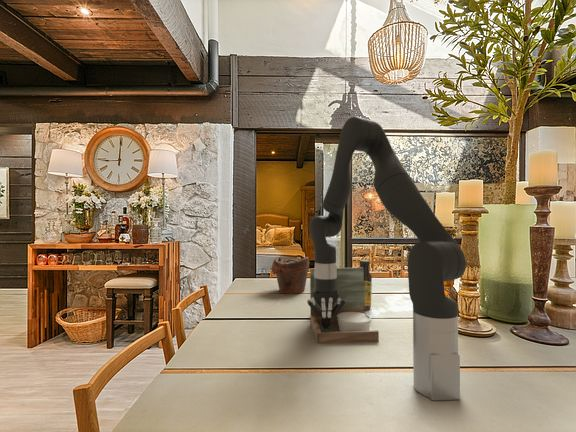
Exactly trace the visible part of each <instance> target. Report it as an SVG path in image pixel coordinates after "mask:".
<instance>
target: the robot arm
mask: <svg viewBox="0 0 576 432" xmlns="http://www.w3.org/2000/svg"><path fill="white" fill-rule="evenodd" d="M392 147H393V146H392V145H391V142H390V141H389V139H388V137H387V134H386V132H385V130H384V129H383V127H382V125H381V124H380V123H379V122H377V121H376V120H373V119H368V118H364V117H359V116H352V117H349V118H347V120H346V121H345V122H344V124H343V126H342V128H341V132H340V134H339V139H338V145H337V150H336V154H335V159H334V163H333V170H332V174H331V178H330V182H329V185H328V187H327V190H326V193H325V195H324V198H323V201H322V208H323V209H324V211H325V212H327V213H328V215H316V216H314V217H312V218H311V220H310V222H309V227H308V228H309V233H310V238H311V241H312V245H313V249H314V268H313V269H314V294H313V297H312V298H311V299H310V298H309V299H307V300H306V302H307V304H308V306H309V307H310V308H311V309H312V310H313V311H314V312H315V313H316V315H317V316H320V317H321V324H322V325H321V327H322V328H323V329H324V330H329V328H331V326H332V325H331V317H332V316H336V315H337V313H338V312H339V311H340V309H341V308H342V307H343V305H344V304H345V301H344V300H343V299H341V298H340V297H339V294H338V292H337V268H338V267H337V249H336V246H335V245H334V244H330V243H328V240H327V238H331V237H332V238H333V237H336V236H337V235H338V234H340V232H341V230H342V227H343V220H344V209H345V207H346V205H347V203H348V199H349V198H350V195H351V190H352V180H351V173H350V171H351V170H350V165H351V160H352V158H353V156H354V153H355V151H357V152H362V153H365V154H367V156H368V157H369V159H370V161H371V162H372V163H373V166H374V176H373V177H374V178H373V186H374V190H375V192H376V194H377V196H378V198H379V200H380V202H381V203H382V204H383V207H384V208H385V209H386V211H388V213H390V215H392V216H393V217H394V218H395V219H396V220H397V221H399V222H400V223H401V224H403V225H404V226H405V227H407V228H408V230H410V231H411V232H412V233H413V234H414V236H416V239H418V240H419V241H418V242H416V243H415V244H413V245H412V246H411V248H410V250H409V252H408V256H407V276H408V292H409V298H410V301H411V303H412V332H413V333H412V345H413V346H412V348H413V349H412V350H413V352H412V355H413V357H412V359H413V360H412V362H413V363H412V364H413V366H412V367H413V368H412V369H413V371H412V373H413V388H414V389H415V390H416V391H417V392H418V393H419V394H421V395H422V396H425V397H428V398H429V399H430V400H431V401H449V400H450V401H453V400H461V364H460V363H461V358H460V357H461V356H460V354H459V306H458V305H459V304H458V302H457V301H456V300H455V299H453V298H451V297H447V296H446V291H445V282H449V281H455V280H458V279H459V278H461V277H462V276H463V275H464V274H465V271H466V268H467V262H466V261H467V260H466V257H465V254H464V252H463V250H462V248H461V246H460V245H459V244H458V242H457V240H455V239H454V237H453V236H452V235H451V234H450V232H449V231H448V230H447V229H446V228H445V226H444V225H443V223H441V221H440V220H439V219H438V217H437V216H436V215H435V213H434V212H433V210H432V209H431V207H430V206H429V204H428V202H427V201H426V199H425V198H424V197H423V195H422V194H421V192H420V190H419V189H418V187H417V185H416V184H415V182H414V180H413V179H412V177H411V175H410V174H409V173H408V171H407V170H406V169H405V167H404V165H403V164H402V162H401V161H400V158H399V157H398V156H397V154H396V153H395V151H394V149H393V148H392ZM314 301H316V302H317V303H318V305H319V306H320V308H321V312H320V311H318V309H317V308H316V307H315V306H314V305H315V302H314ZM336 301H337V305H336V306H335V307H334V309H333V310H332V306H333V305H334V304H335V302H336ZM325 307H326V308H325Z"/></svg>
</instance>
